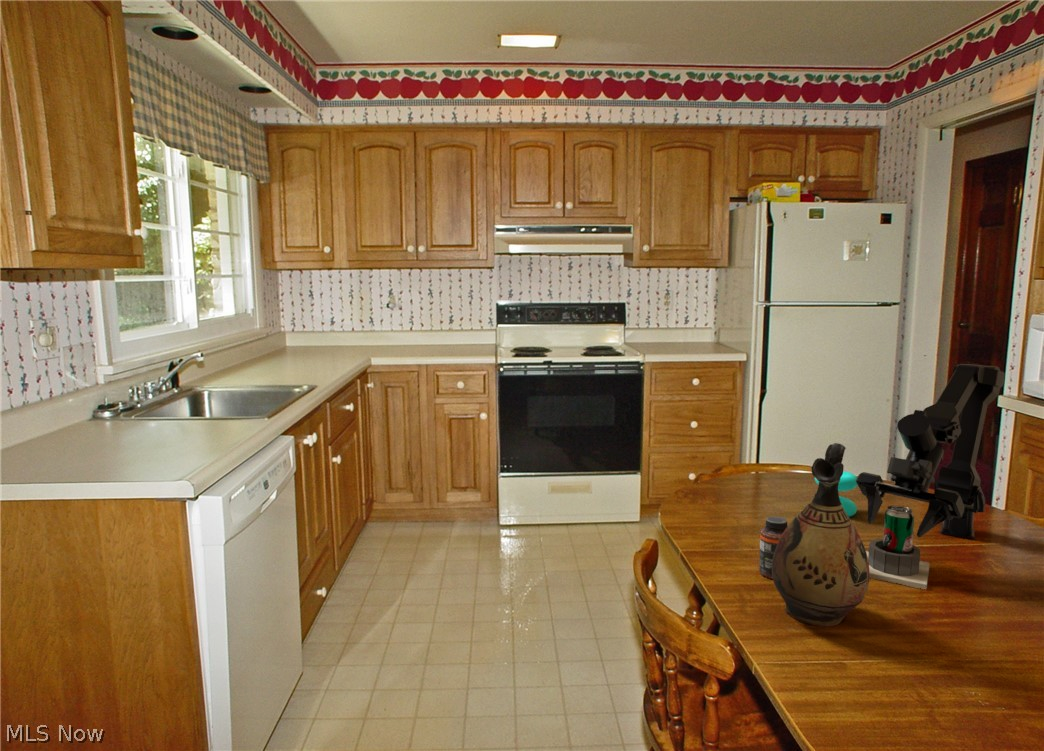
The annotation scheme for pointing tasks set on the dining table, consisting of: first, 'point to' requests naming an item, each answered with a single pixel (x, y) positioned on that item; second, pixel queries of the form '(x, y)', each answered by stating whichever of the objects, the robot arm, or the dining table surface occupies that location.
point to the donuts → (846, 484)
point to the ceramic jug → (822, 553)
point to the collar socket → (897, 566)
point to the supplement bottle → (770, 543)
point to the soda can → (898, 530)
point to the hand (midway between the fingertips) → (893, 529)
